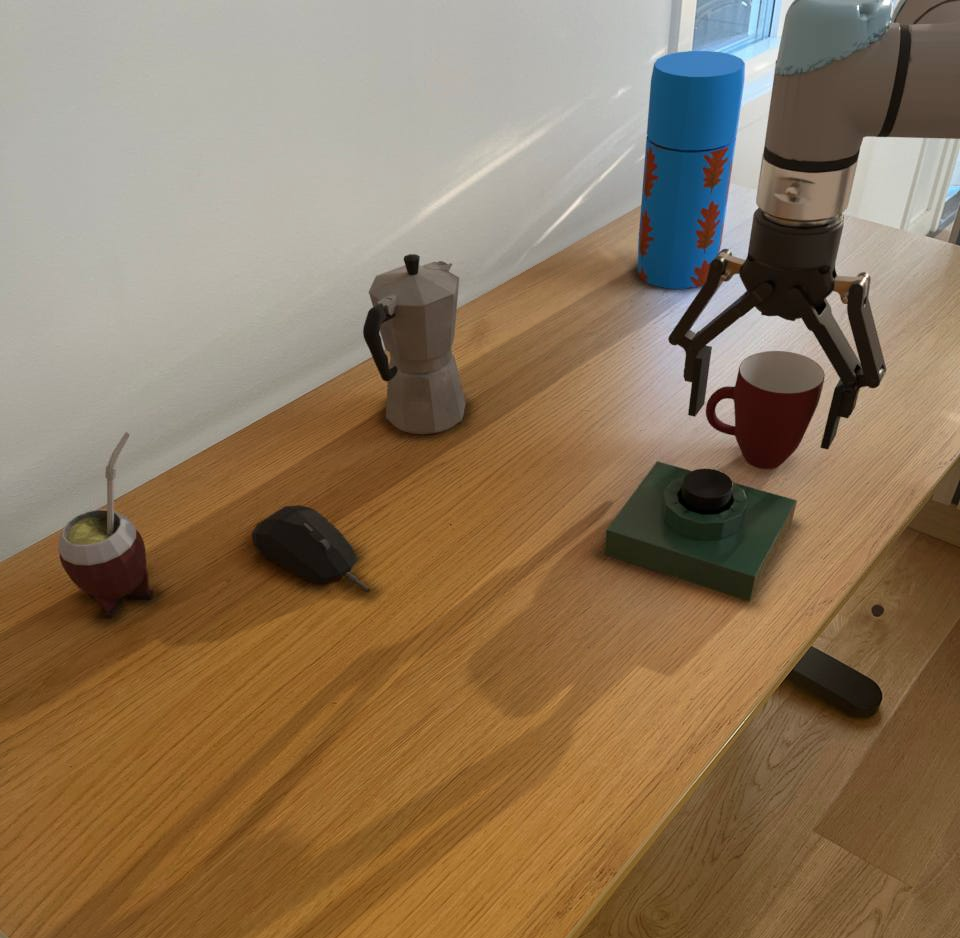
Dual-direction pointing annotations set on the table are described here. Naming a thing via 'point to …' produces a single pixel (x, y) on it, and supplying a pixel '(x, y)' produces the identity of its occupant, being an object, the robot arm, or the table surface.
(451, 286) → the coffeepot
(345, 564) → the gaming mouse
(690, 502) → the black round button
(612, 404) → the table surface
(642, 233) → the thermos
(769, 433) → the mug
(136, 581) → the mate gourd
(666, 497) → the green button base
